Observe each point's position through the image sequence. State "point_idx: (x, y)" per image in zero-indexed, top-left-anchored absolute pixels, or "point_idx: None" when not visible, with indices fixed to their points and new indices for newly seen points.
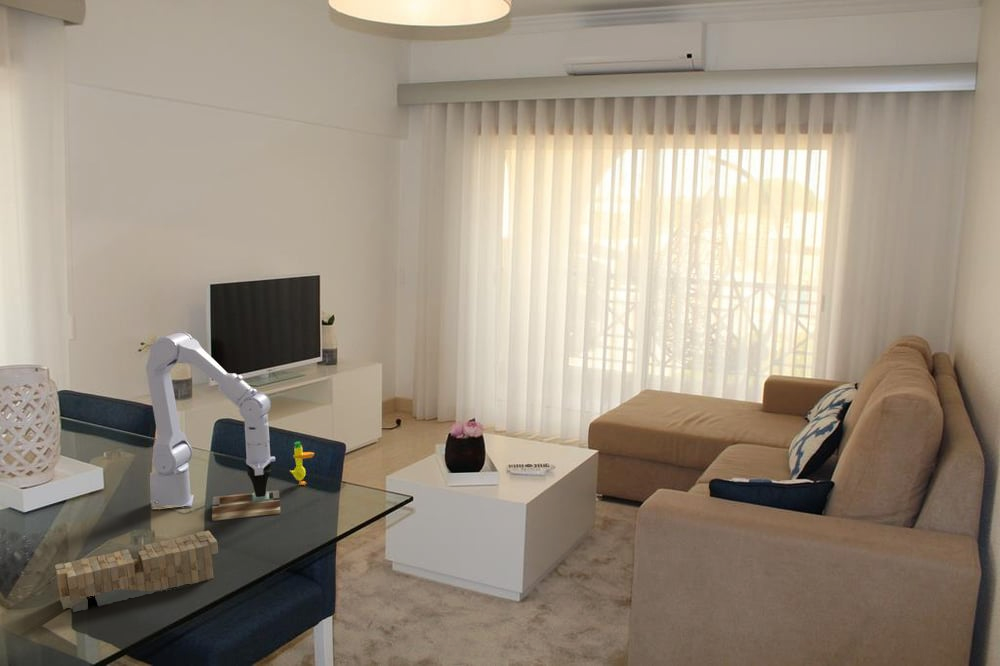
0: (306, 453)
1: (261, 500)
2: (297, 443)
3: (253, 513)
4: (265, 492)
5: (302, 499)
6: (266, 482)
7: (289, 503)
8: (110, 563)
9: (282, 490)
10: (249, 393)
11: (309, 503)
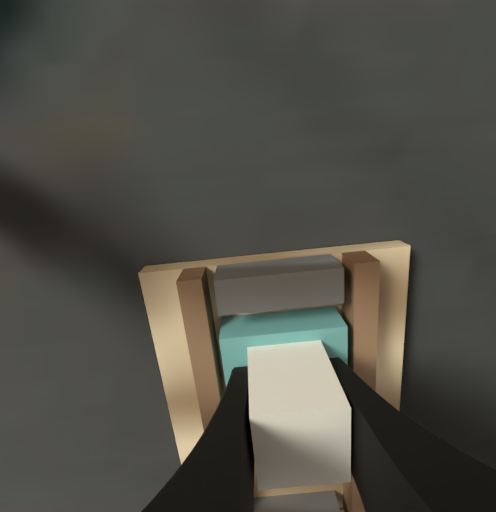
0: None
1: (345, 360)
2: None
3: (399, 364)
4: (350, 369)
5: (203, 126)
6: (417, 425)
7: (257, 202)
8: None
9: (35, 256)
10: None
11: (285, 74)
